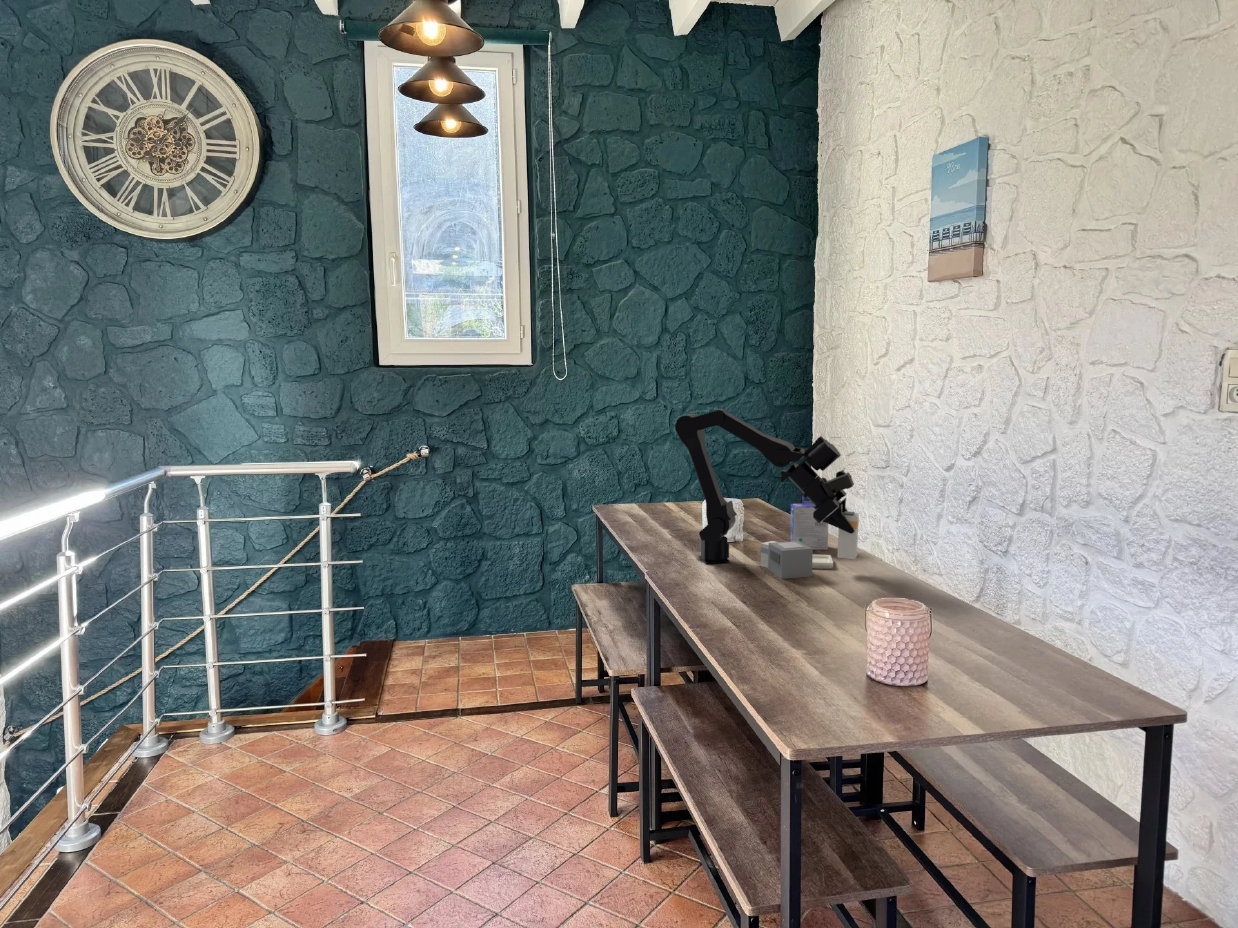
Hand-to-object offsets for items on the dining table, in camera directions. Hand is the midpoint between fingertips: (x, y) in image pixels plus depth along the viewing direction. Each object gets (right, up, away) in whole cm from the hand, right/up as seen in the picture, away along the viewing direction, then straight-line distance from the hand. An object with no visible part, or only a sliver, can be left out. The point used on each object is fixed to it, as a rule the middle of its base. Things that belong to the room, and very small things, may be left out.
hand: (854, 530), depth 199 cm
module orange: (-1, -7, +2) cm, 7 cm away
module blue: (-18, -10, +9) cm, 23 cm away
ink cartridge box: (-5, -7, +27) cm, 29 cm away
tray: (-7, -10, +11) cm, 16 cm away
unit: (-15, -11, +2) cm, 19 cm away
